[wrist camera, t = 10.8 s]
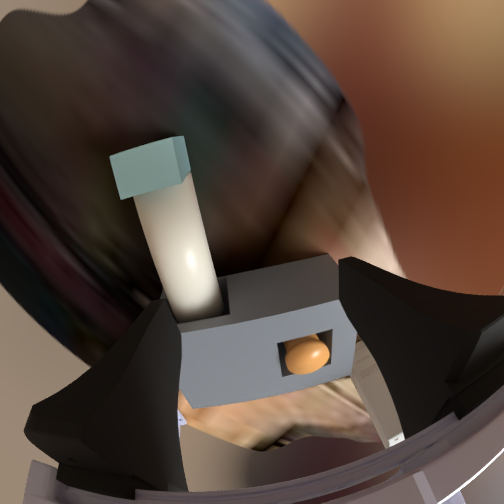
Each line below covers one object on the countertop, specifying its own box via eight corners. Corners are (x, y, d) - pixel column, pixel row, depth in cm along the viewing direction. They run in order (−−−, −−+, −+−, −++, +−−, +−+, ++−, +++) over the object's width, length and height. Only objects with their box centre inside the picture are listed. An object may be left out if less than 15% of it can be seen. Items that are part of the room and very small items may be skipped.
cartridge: (223, 290, 22) (226, 332, 17) (178, 299, 21) (171, 341, 17) (186, 135, 16) (175, 136, 12) (133, 149, 16) (106, 157, 12)
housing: (329, 331, 26) (351, 374, 21) (193, 360, 25) (192, 408, 20) (328, 253, 22) (360, 293, 17) (162, 288, 21) (150, 337, 16)
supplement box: (350, 379, 31) (386, 457, 20) (340, 348, 28) (387, 441, 16) (398, 353, 30) (443, 423, 19) (396, 318, 27) (456, 398, 16)
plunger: (313, 334, 22) (328, 367, 19) (277, 343, 22) (288, 378, 19) (312, 306, 21) (330, 339, 17) (273, 315, 21) (284, 351, 17)
